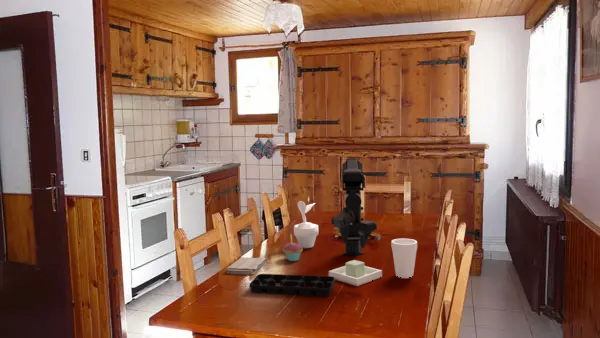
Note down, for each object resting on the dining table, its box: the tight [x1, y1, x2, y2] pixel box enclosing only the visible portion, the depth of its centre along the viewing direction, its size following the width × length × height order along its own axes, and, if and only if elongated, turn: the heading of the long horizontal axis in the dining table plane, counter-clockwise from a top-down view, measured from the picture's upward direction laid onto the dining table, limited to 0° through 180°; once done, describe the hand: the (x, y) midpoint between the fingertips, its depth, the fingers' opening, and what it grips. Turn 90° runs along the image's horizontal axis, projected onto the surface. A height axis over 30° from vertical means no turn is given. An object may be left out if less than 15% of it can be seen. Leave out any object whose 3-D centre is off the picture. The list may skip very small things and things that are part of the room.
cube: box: [344, 259, 366, 278], centre depth 186 cm, size 5×5×5 cm
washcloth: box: [226, 257, 268, 276], centre depth 202 cm, size 12×18×3 cm, turn 168°
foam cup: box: [390, 237, 418, 279], centre depth 186 cm, size 10×9×13 cm
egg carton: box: [249, 273, 336, 298], centre depth 175 cm, size 18×30×4 cm, turn 90°
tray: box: [328, 265, 383, 287], centre depth 186 cm, size 14×14×2 cm
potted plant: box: [293, 195, 319, 249], centre depth 232 cm, size 13×12×25 cm
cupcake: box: [282, 233, 304, 262], centre depth 212 cm, size 9×8×12 cm
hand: (353, 245), depth 187 cm, fingers open, 9 cm apart
